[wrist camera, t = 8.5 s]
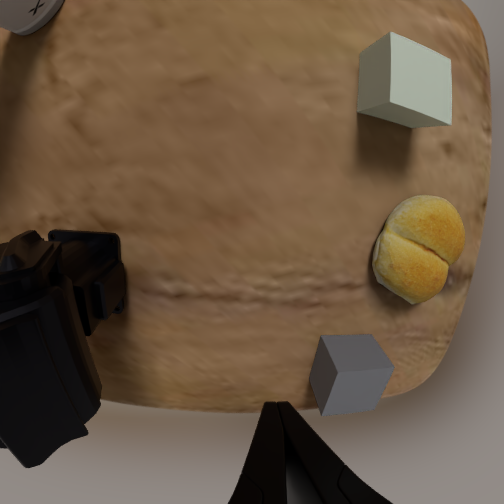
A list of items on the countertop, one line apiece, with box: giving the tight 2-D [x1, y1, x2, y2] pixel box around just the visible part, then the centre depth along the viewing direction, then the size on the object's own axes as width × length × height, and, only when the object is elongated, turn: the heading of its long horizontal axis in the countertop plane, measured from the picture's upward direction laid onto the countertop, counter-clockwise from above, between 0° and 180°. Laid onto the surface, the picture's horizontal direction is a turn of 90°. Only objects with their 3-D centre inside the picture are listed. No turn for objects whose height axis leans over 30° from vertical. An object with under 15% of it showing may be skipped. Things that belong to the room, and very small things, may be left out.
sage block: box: [357, 32, 452, 128], centre depth 15 cm, size 5×5×5 cm
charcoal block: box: [309, 334, 395, 416], centre depth 22 cm, size 5×5×5 cm
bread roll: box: [372, 195, 465, 305], centre depth 20 cm, size 8×9×4 cm
